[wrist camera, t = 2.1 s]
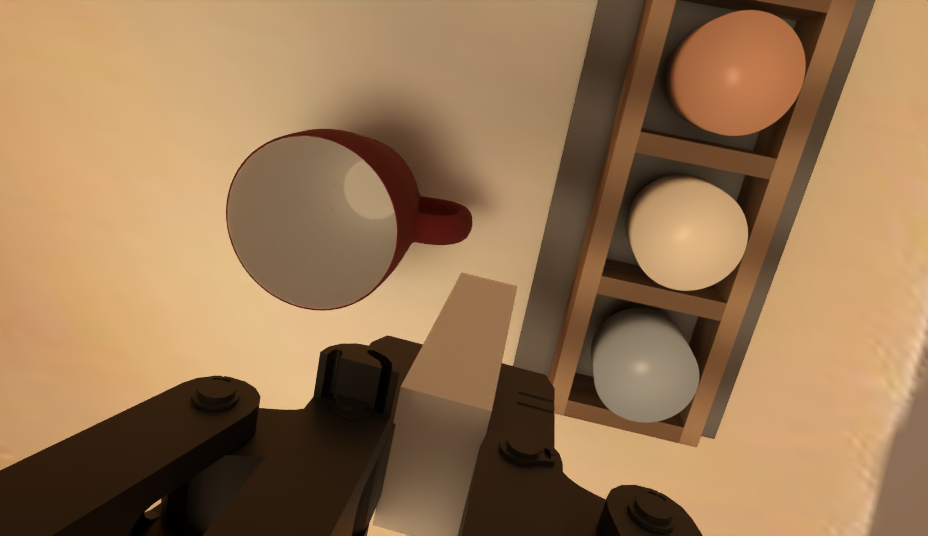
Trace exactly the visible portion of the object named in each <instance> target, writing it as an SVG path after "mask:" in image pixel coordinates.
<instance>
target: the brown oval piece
mask: <svg viewBox="0 0 928 536" xmlns="http://www.w3.org/2000/svg"><path fill="white" fill-rule="evenodd" d="M805 62H806V61H805V54H804V50H803V46H802V44H801V41H800V39H799V37H798V36H797V34H796V33H795V31H794V30H793V29H792V28H791V27H790V25H788V24H787V23H786V22H785V21H784V20H782V19H780V18H779V17H777V16H775V15H773V14H770V13H767V12H763V11H757V10H743V11H737V12H733V13H729V14H726V15H724V16H721V17H719V18H716V19H714V20H711V21H709V22H706V23H704V24H702V25H700V26H698V27H697V28H695V29H694V30H692V31H691V32H690V33H689V34H687V35H686V36H685V37H684V38H683V39H682V41H681V42H680V43H679V44H678V46H677V47H676V49H675V50H674V52H673V54H672V56H671V58H670V61H669V64H668V68H667V74H666V88H667V93H668V97H669V100H670V102H671V104H672V106H673V108H674V109H675V111H676V112H677V113H678V114H679V115H680V116H681V117H682V118H683V119H684V120H685V121H687V122H688V123H690V124H692V125H694V126H696V127H698V128H701V129H704V130H708V131H711V132H714V133H717V134H721V135H728V136H740V135H747V134H751V133H755V132H757V131H760V130H762V129H764V128H766V127H768V126H770V125H771V124H773V123H774V122H776V121H777V120H778V119H779V118H781V117H782V116H783V115H784V114H785V113H786V112H787V111H788V110H789V108H790V107H791V106H792V104H793V103H794V102H795V100H796V98H797V96H798V94H799V92H800V90H801V87H802V84H803V81H804V76H805Z"/></svg>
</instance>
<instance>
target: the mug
mask: <svg viewBox="0 0 928 536" xmlns="http://www.w3.org/2000/svg"><path fill="white" fill-rule="evenodd" d="M226 220H227V228H228V233H229V237H230V240H231V243H232V246H233V249H234V251H235V253H236V255H237V257H238V259H239V261H240V262H241V264H242V266H243V267H244V269H245V270H246V271H247V273H248V274H249V275H250V276H251V277H252V278H253V280H254V281H255V282H256V283H257V284H259V285H260V286H261V287H262V288H263V289H264V290H266V291H267V292H268V293H270V294H271V295H273V296H274V297H276V298H278V299H280V300H281V301H284V302H286V303H288V304H291V305H294V306H297V307H300V308H304V309H310V310H333V309H339V308H343V307H347V306H349V305H352V304H354V303H356V302H358V301H360V300H362V299H364V298H365V297H367V296H368V295H370V294H371V293H372V292H373V291H375V290H376V289H377V288H378V287H379V286H380V285H381V284H382V283H383V282H384V281H385V280H386V279H387V277H388V276H389V275H390V274H391V273H392V272H393V271H394V269H395V268H396V267H397V265H398V264H399V262H400V261H401V259H402V258H403V256H404V255H405V253H406V251H407V250H408V248H409V246H410V245H411V244H412V243H413V242H418V243H424V244H432V245H448V244H455V243H458V242H461V241H463V240H464V239H466V238H467V236H468V235H469V233H470V231H471V228H472V216H471V213H470V211H469V210H468V209H467V208H466V207H465V206H463V205H460V204H458V203H455V202H452V201H448V200H442V199H436V198H428V197H422V196H420V195H419V192H418V188H417V185H416V182H415V179H414V177H413V175H412V172H411V170H410V169H409V167H408V165H407V164H406V163H405V161H404V160H403V159H402V158H401V157H400V156H399V155H398V154H397V153H396V152H395V151H394V150H393V149H391V148H390V147H388V146H387V145H385V144H383V143H381V142H379V141H376V140H374V139H371V138H367V137H364V136H361V135H357V134H354V133H351V132H346V131H342V130H334V129H314V130H307V131H302V132H297V133H292V134H289V135H285V136H282V137H279V138H276V139H273V140H271V141H269V142H267V143H265V144H264V145H262V146H260V147H259V148H258V149H256V150H255V151H254V152H252V153H251V154H250V155H249V156H248V157H247V158H246V159H245V161H244V162H243V163H242V164H241V166H240V167H239V169H238V170H237V172H236V174H235V176H234V178H233V180H232V183H231V186H230V189H229V193H228V198H227V206H226Z"/></svg>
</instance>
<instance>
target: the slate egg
mask: <svg viewBox="0 0 928 536" xmlns="http://www.w3.org/2000/svg"><path fill="white" fill-rule="evenodd" d="M591 359H592V367H593V375H594V383H595V387H596V391H597V393H598V395H599V397H600V399H601V401H602V402H603V403H604V404H605V406H606V407H607V408H608V409H609V410H611V411H612V412H613V413H615V414H617V415H618V416H620V417H622V418H625V419H627V420H631V421H635V422H643V423H649V422H657V421H662V420H665V419H668V418H670V417H672V416H674V415H676V414H678V413H679V412H680V411H682V410H683V409H684V408H685V407H686V406H687V405H688V404H689V403H690V402H691V400H692V399H693V397H694V395H695V393H696V391H697V388H698V384H699V368H698V364H697V361H696V359H695V357H694V355H693V353H692V351H691V349H690V347H689V345H688V343H687V341H686V339H685V337H684V335H683V333H682V331H681V329H680V328H679V326H678V325H677V324H676V323H675V322H674V321H673V320H672V319H671V318H669V317H668V316H666V315H665V314H663V313H661V312H658V311H656V310H652V309H647V308H631V309H626V310H623V311H620V312H618V313H616V314H614V315H612V316H610V317H609V318H608V319H606V320H605V321H604V322H603V323H602V324H601V325H600V327H599V328H598V329H597V331H596V333H595V335H594V337H593V340H592V344H591Z"/></svg>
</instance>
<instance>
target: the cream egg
mask: <svg viewBox="0 0 928 536" xmlns="http://www.w3.org/2000/svg"><path fill="white" fill-rule="evenodd" d="M626 234H627V238H628V241H629V244H630V246H631V248H632V251H633V253H634V255H635V257H636V259H637V261H638V263H639V265H640V267H641V268H642V270H643V271H644V272H645V273H646V274H647V275H648V276H649V277H650V278H651V279H652V280H654V281H655V282H657V283H658V284H660V285H662V286H665V287H667V288H671V289H675V290H683V291H690V290H698V289H703V288H706V287H709V286H711V285H714V284H716V283H718V282H719V281H721V280H722V279H724V278H725V277H726V276H728V275H729V274H730V273H731V272H732V271H733V270H734V269H735V267H736V266H737V265H738V264H739V262H740V260H741V259H742V257H743V254H744V252H745V249H746V246H747V240H748V227H747V222H746V218H745V215H744V213H743V211H742V209H741V208H740V206H739V205H738V204H737V202H736V201H735V200H734V199H733V198H732V197H730V196H729V195H728V194H727V193H725V192H724V191H722V190H721V189H719V188H718V187H716V186H715V185H713V184H711V183H710V182H708V181H707V180H705V179H703V178H700V177H698V176H694V175H689V174H673V175H668V176H664V177H661V178H659V179H656V180H655V181H653V182H651V183H649V184H648V185H647V186H645V187H644V188H643V189H642V190H641V191H640V192H639V193H638V194H637V195H636V197H635V198H634V200H633V201H632V203H631V205H630V207H629V210H628V213H627V217H626Z"/></svg>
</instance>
